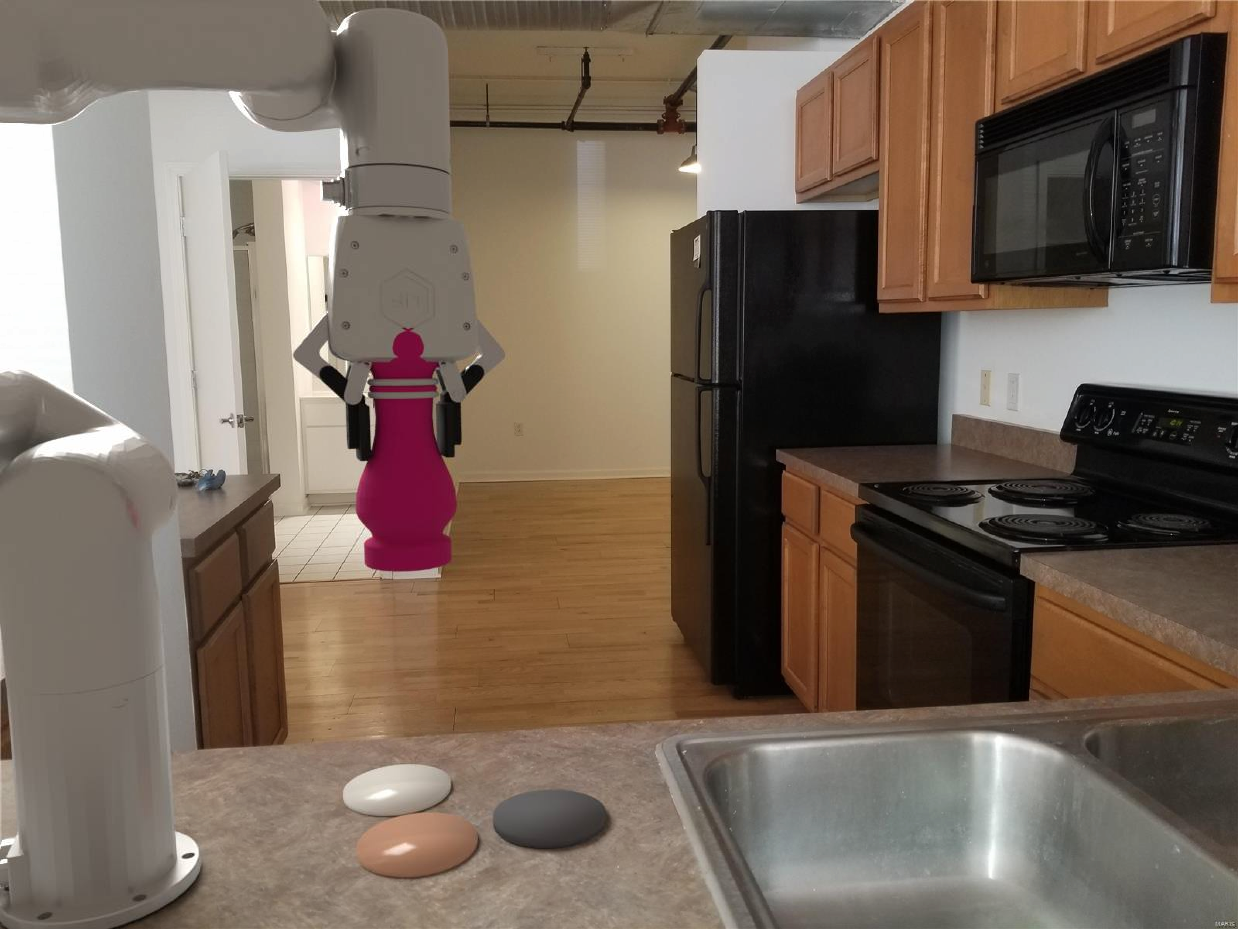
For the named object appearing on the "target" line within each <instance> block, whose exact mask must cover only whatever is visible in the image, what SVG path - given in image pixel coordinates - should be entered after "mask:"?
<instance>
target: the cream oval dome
mask: <svg viewBox="0 0 1238 929" xmlns="http://www.w3.org/2000/svg"><path fill="white" fill-rule="evenodd" d="M451 782H452V781H451V778H450V775H449V774H447V773H446V772H445V771H444V770H442V769H440V768H438V767H434V766H432V765H431V766H430V765H426V764H417V763H416V764H413V763H412V764H411V763H408V764H407V763H406V764H394V765H388V766H387V765H386V766H382V767H378V768H375V769H371V770H368V771H366V772H364V773H362V774H361V773H360V774H359V775H357V776H355V777H354V778H352V779H351V780H350V781H349V782H348V783H347V784H346V785H345V786H344V787H343V791H342V799H343V801H342V802H343V804H345V806H346V807H347V808H349V809H350V810H351V811H353V812H355V813H359V814H363V815H366V816H374V817H376V816H377V817H393V816H394V817H395V816H396V817H397V816H403V815H408V814H414V813H419V812H421V811H424V810H427V809H429V808H431V807H433V806H435V805H437V804H439V803H440V802H442V801H443V800H444V799H445V798H447V796H448V795H449V794H450V792H451V789H452V783H451Z"/></svg>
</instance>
